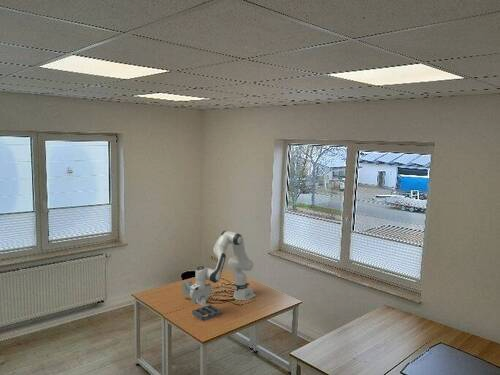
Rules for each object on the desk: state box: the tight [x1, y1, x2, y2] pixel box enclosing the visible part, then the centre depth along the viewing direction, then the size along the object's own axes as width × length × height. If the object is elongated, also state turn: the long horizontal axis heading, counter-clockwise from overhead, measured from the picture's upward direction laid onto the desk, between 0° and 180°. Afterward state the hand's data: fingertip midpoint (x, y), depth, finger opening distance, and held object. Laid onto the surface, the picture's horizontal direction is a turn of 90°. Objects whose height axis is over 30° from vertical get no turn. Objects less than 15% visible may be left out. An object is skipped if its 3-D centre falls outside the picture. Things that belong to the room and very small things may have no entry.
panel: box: [196, 296, 207, 307], centre depth 332 cm, size 2×12×7 cm, turn 39°
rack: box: [192, 304, 222, 322], centre depth 337 cm, size 19×17×4 cm
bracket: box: [181, 280, 209, 305], centre depth 362 cm, size 28×7×20 cm, turn 67°
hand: (200, 301), depth 332 cm, fingers closed on panel, 2 cm apart
